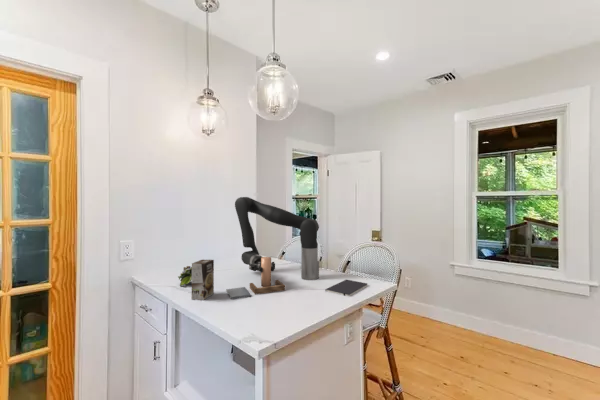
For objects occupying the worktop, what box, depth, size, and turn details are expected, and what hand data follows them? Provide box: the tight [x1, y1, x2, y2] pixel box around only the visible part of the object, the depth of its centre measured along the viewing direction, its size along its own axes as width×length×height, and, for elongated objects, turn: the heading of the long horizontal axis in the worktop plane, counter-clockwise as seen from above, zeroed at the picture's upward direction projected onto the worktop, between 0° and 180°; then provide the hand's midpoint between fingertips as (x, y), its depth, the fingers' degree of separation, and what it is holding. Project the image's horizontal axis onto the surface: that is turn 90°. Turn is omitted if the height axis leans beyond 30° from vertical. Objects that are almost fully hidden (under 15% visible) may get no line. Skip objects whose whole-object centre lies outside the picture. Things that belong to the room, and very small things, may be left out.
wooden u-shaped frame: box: [249, 279, 286, 295], centre depth 142 cm, size 15×10×2 cm
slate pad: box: [225, 286, 252, 300], centre depth 135 cm, size 9×12×1 cm
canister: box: [260, 256, 272, 287], centre depth 143 cm, size 5×5×14 cm
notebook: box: [325, 279, 368, 297], centre depth 144 cm, size 13×2×21 cm
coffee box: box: [191, 259, 215, 301], centre depth 131 cm, size 9×6×16 cm
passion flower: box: [177, 265, 192, 287], centre depth 150 cm, size 11×11×12 cm
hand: (267, 269), depth 141 cm, fingers closed on canister, 5 cm apart
